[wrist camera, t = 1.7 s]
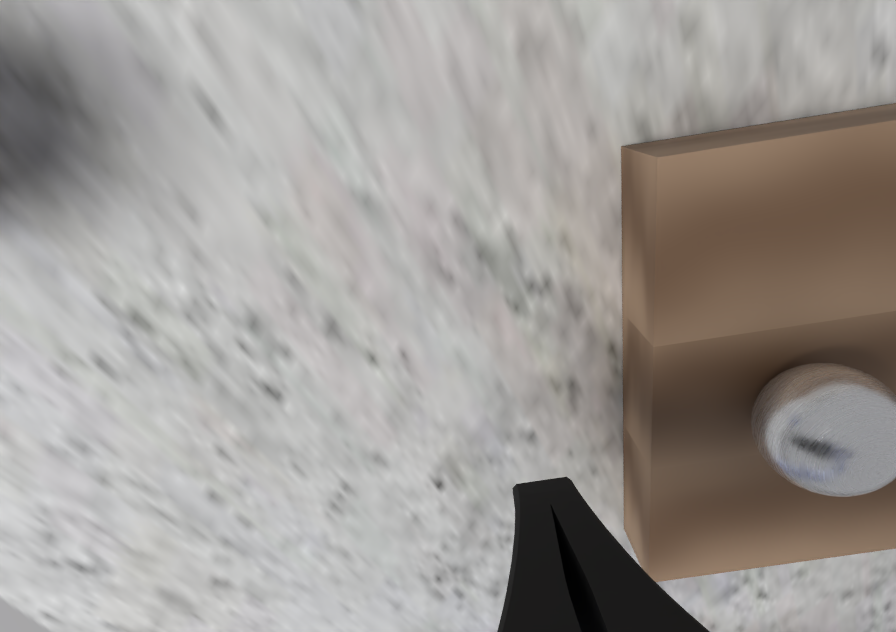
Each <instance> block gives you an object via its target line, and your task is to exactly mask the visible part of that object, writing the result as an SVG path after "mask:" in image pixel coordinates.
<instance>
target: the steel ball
mask: <svg viewBox="0 0 896 632" xmlns="http://www.w3.org/2000/svg"><path fill="white" fill-rule="evenodd" d="M751 427H752V434H753V437H754V440H755V443H756V446H757V448H758V449H759V451H760V453H761V455H762V457H763V458H764V459H765V460H766V462H767V463H768V464H769V465H770V466H771V467H772V468H773V469H774V470H775V471H776V472H777V473H778V474H779V475H780V476H782V477H783V478H785V479H786V480H788V481H789V482H791V483H793V484H795V485H796V486H798V487H800V488H803V489H805V490H808V491H811V492H814V493H818V494H822V495H827V496H837V497H849V496H858V495H863V494H867V493H870V492H873V491H876V490H878V489H880V488H882V487H884V486H886V485H887V484H889V483H890V482H892V481H893V480H894V479H895V478H896V395H895V394H894V393H893V392H892V391H891V390H890V389H889V388H888V387H887V386H886V385H884V384H883V383H882V382H880V381H879V380H878V379H876V378H874V377H873V376H871V375H869V374H867V373H865V372H863V371H860V370H858V369H855V368H852V367H848V366H844V365H839V364H832V363H813V364H805V365H800V366H797V367H794V368H791V369H788V370H786V371H784V372H782V373H780V374H778V375H777V376H775V377H774V378H773V379H771V380H770V381H769V382H768V383H767V384H766V385H765V386H764V387H763V388H762V390H761V391H760V393H759V394H758V396H757V398H756V400H755V402H754V405H753V409H752V415H751Z"/></svg>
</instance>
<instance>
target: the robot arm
mask: <svg viewBox="0 0 896 632" xmlns="http://www.w3.org/2000/svg"><path fill="white" fill-rule="evenodd" d="M513 496H514V504H515V535H514V545H513V555H512V563H511V569H510V575H509V581H508V587H507V592H506V597H505V602H504V607H503V611H502V616H501V620H500V624H499V628H498V632H710V631H708V630H707V629H706V628H705V627H704V626H703V625H701V624H700V623H699V622H698V621H697V620H696V619H695V618H693V617H692V616H691V615H690V614H689V613H688V612H686V611H685V610H684V609H683V608H682V607H681V606H680V605H679V604H678V603H677V602H676V601H675V600H673V599H672V598H671V597H670V596H669V595H668V594H667V593H666V592H665V591H664V590H663V589H662V588H661V587H660V586H659V585H658V584H657V583H656V582H655V581H654V580H653V579H652V578H651V577H650V576H649V575H648V574H647V573H646V572H645V571H644V570H643V569H642V568H641V567H640V566H639V565H638V564H637V563H636V562H635V561H634V559H633V558H632V557H631V556H630V555H629V554H628V553H627V552H626V551H625V549H624V548H623V547H622V546H621V545H620V544H619V543H618V541H617V540H616V539H615V538H614V537H613V536H612V534H611V533H610V532H609V531H608V530H607V529H606V527H605V526H604V525H603V524H602V522H601V521H600V520H599V519H598V517H597V516H596V515H595V513H594V512H593V511H592V510H591V508H590V507H589V506H588V504H587V503H586V501H585V500H584V499H583V497H582V496H581V494H580V493H579V492H578V490H577V489H576V487H575V486H574V484H573V482H572V481H571V480H570V479H569V478H567V477H562V478H555V479H548V480H541V481H535V482H528V483H521V484H516V485H515V486H514V487H513Z"/></svg>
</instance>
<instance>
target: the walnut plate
mask: <svg viewBox="0 0 896 632" xmlns="http://www.w3.org/2000/svg"><path fill="white" fill-rule="evenodd" d="M621 173H622V311H623V449H624V530H625V532H626V534H627V536H628V539H629V541H630V543H631V545H632V547H633V550H634V552H635V554H636V556H637V558H638V561H639V563H640V565H641V567H642V569H643V570H644V571H645V572H646V573H647V574H648V575H649V576H650V577H651V578H652V579H653V580H654V581H655V582H659V581H667V580H674V579H681V578H688V577H695V576H702V575H709V574H716V573H724V572H731V571H738V570H745V569H752V568H759V567H766V566H773V565H781V564H788V563H795V562H802V561H809V560H816V559H823V558H830V557H838V556H845V555H852V554H859V553H866V552H873V551H880V550H887V549H895V548H896V478H895V479H894V480H893V481H892V482H890V483H889V484H887V485H886V486H884V487H882V488H880V489H878V490H876V491H873V492H870V493H867V494H863V495H858V496H849V497H837V496H827V495H822V494H818V493H814V492H811V491H808V490H805V489H803V488H800V487H798V486H796V485H795V484H793V483H791V482H789V481H788V480H786V479H785V478H783V477H782V476H780V475H779V474H778V473H777V472H776V471H775V470H774V469H773V468H772V467H771V466H770V465H769V464H768V463H767V462H766V460H765V459H764V458H763V457H762V455H761V453H760V451H759V449H758V448H757V446H756V443H755V440H754V437H753V434H752V427H751V415H752V409H753V405H754V402H755V400H756V398H757V396H758V394H759V393H760V391H761V390H762V388H763V387H764V386H765V385H766V384H767V383H768V382H769V381H770V380H771V379H773V378H774V377H775V376H777V375H778V374H780V373H782V372H784V371H786V370H788V369H791V368H794V367H797V366H800V365H805V364H813V363H832V364H839V365H844V366H848V367H852V368H855V369H858V370H860V371H863V372H865V373H867V374H869V375H871V376H873V377H874V378H876V379H878V380H879V381H880V382H882V383H883V384H884V385H886V386H887V387H888V388H889V389H890V390H891V391H892V392H893V393H894V394H895V395H896V103H894V104H888V105H881V106H875V107H869V108H862V109H856V110H850V111H843V112H837V113H831V114H824V115H818V116H812V117H805V118H799V119H793V120H786V121H780V122H774V123H767V124H761V125H755V126H748V127H742V128H736V129H729V130H723V131H717V132H710V133H704V134H698V135H691V136H685V137H679V138H672V139H666V140H660V141H653V142H647V143H641V144H634V145H628V146H622V147H621Z"/></svg>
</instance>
